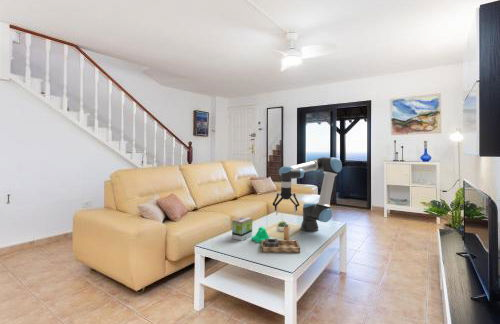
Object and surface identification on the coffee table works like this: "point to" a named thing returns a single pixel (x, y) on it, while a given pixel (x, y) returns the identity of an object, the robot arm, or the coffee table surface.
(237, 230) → the tea box
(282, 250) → the inlet box
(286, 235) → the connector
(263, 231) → the green lumpy mound
